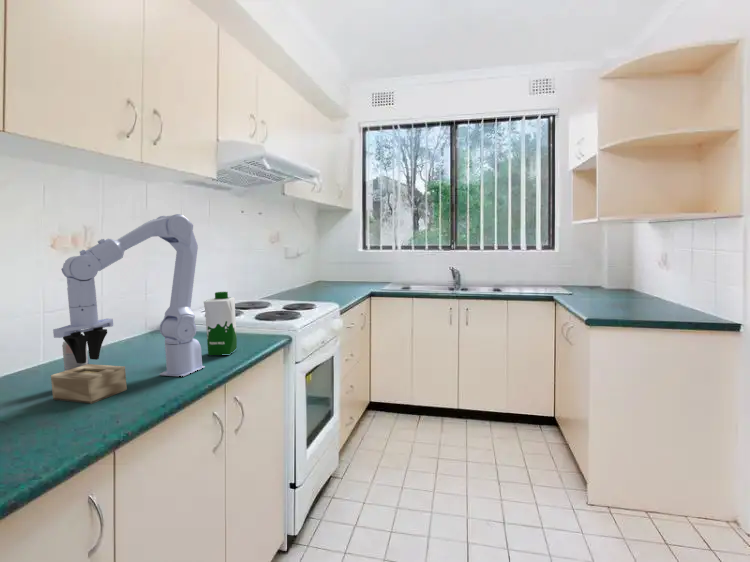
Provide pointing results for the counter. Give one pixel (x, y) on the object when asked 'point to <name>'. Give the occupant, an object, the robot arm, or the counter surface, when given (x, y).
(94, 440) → the counter surface
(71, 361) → the energy drink
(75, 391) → the box
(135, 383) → the counter surface
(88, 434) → the counter surface
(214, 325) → the milk carton
